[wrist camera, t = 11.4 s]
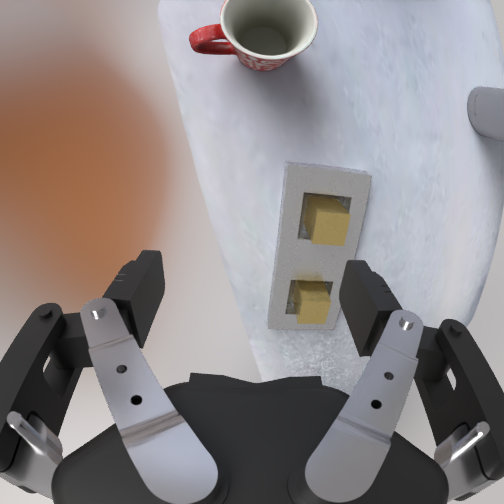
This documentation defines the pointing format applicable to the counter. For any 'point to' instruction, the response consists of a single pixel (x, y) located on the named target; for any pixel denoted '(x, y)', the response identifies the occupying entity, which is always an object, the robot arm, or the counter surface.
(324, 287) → the brass block
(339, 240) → the seated brass block
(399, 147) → the counter surface
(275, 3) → the mug
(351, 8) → the counter surface
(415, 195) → the counter surface
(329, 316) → the white socket board
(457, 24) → the counter surface
